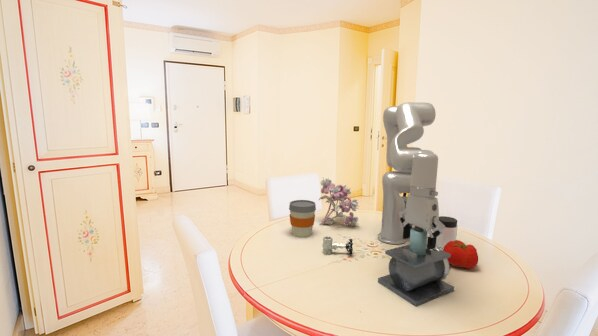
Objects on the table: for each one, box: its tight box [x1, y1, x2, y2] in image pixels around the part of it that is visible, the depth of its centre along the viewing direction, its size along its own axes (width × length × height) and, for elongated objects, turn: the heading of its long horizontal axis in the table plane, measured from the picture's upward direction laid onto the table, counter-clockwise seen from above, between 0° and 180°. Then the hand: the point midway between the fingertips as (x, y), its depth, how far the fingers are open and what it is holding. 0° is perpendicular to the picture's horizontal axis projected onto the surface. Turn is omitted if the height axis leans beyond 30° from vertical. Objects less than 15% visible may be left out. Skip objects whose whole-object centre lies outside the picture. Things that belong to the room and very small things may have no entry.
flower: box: [318, 178, 359, 227], centre depth 165 cm, size 20×22×25 cm
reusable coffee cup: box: [288, 199, 317, 238], centre depth 152 cm, size 13×12×15 cm
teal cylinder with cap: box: [408, 226, 429, 256], centre depth 105 cm, size 5×5×9 cm
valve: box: [321, 235, 354, 256], centre depth 132 cm, size 7×7×12 cm
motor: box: [377, 244, 455, 307], centre depth 106 cm, size 18×16×13 cm
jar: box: [436, 215, 458, 249], centre depth 142 cm, size 9×8×12 cm
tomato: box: [442, 239, 479, 269], centre depth 123 cm, size 13×12×8 cm
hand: (418, 243), depth 105 cm, fingers open, 9 cm apart
